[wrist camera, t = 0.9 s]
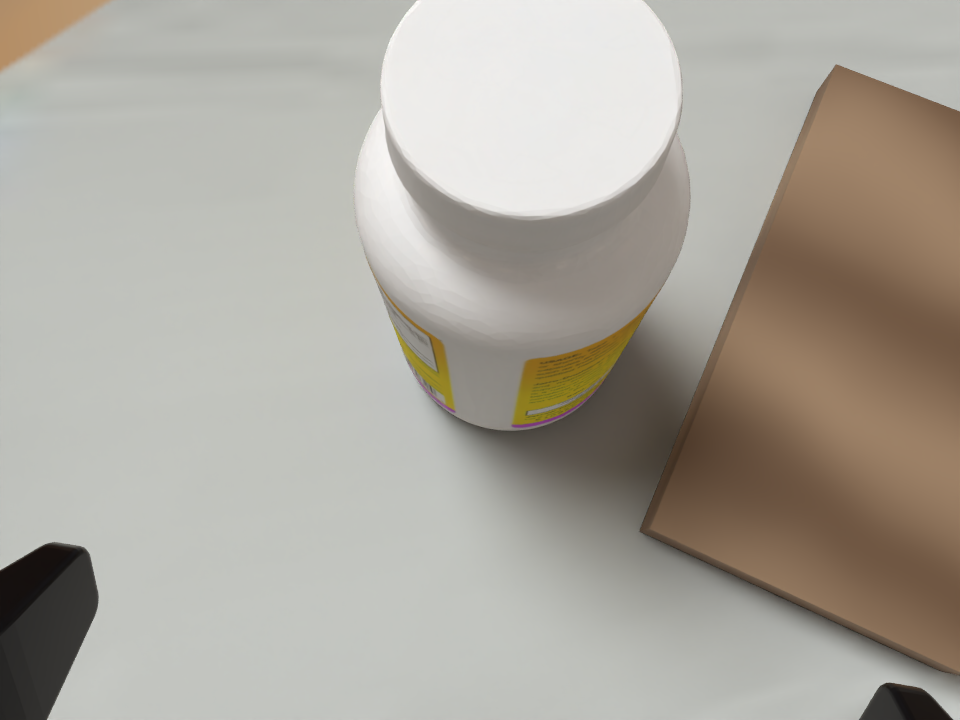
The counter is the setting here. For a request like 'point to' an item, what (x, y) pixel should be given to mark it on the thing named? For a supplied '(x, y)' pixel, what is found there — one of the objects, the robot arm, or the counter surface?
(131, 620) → the counter surface
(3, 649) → the robot arm
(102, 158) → the counter surface
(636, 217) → the supplement bottle
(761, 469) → the walnut board
